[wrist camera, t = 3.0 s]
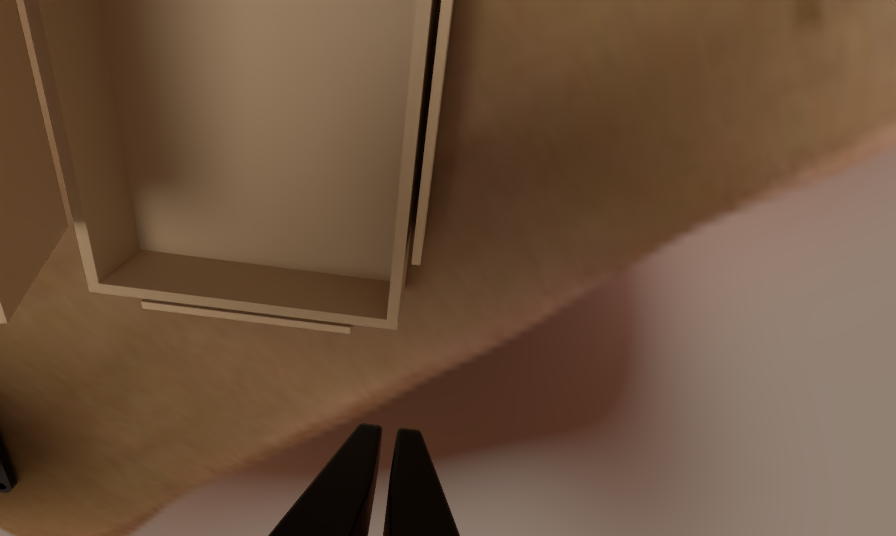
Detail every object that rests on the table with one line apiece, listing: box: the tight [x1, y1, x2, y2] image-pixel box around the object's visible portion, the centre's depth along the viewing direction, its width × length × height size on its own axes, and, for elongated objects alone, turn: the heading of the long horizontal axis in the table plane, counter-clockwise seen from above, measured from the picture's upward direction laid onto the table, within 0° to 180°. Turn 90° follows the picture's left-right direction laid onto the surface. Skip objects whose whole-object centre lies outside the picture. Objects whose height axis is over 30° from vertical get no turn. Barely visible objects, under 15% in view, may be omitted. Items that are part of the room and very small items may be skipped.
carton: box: [24, 0, 454, 334], centre depth 17 cm, size 15×12×3 cm
